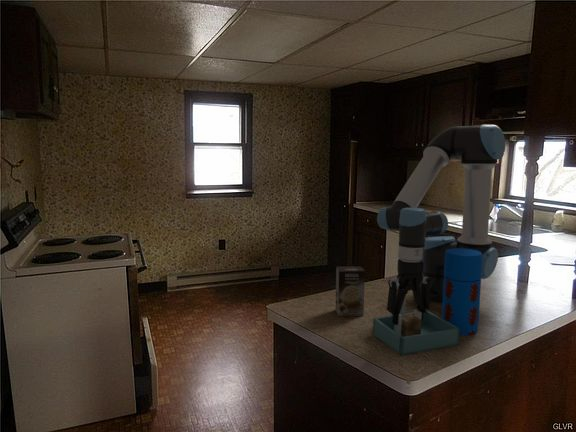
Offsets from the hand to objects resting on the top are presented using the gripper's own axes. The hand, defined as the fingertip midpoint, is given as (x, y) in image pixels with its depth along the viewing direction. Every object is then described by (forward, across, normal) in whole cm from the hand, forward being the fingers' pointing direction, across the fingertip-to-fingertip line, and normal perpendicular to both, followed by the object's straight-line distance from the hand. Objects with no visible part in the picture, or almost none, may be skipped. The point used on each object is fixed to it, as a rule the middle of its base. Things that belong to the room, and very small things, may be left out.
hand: (407, 332), depth 132 cm
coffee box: (+1, -8, +23) cm, 25 cm away
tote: (+1, +1, -3) cm, 3 cm away
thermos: (+1, +19, -1) cm, 19 cm away
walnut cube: (0, +1, 0) cm, 1 cm away
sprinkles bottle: (+1, +4, +11) cm, 12 cm away
